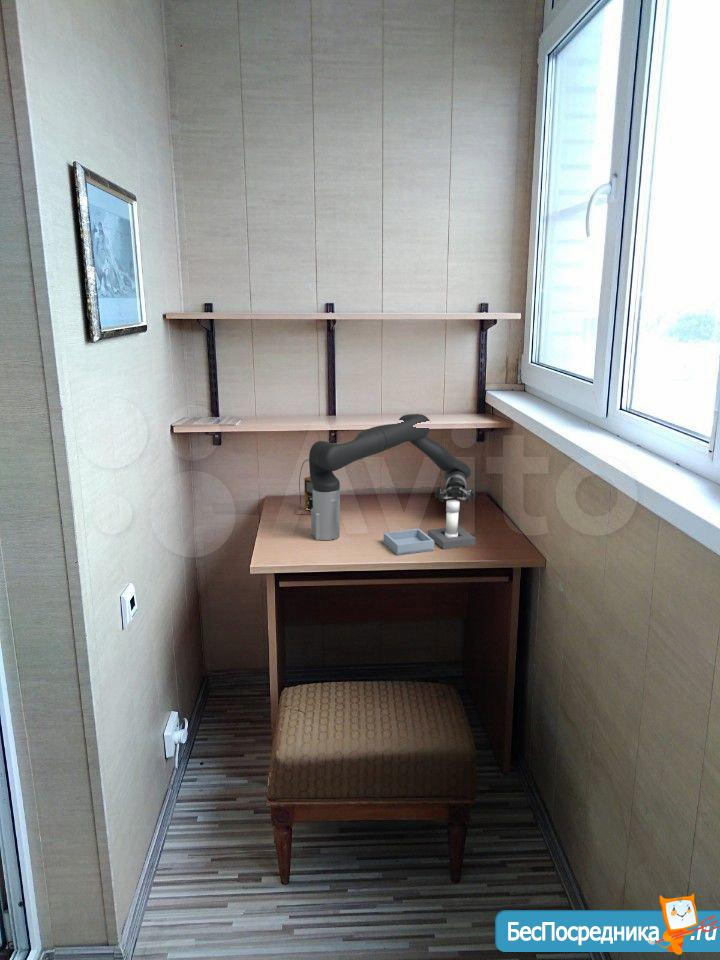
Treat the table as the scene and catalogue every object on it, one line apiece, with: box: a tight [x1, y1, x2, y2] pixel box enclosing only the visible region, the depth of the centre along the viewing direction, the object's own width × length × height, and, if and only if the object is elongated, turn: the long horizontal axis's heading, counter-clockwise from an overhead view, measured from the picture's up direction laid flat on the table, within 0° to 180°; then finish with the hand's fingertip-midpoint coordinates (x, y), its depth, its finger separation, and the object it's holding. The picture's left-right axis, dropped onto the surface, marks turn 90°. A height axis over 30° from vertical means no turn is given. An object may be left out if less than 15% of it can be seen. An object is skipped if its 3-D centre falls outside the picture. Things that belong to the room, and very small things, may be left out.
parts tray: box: [383, 528, 435, 556], centre depth 225 cm, size 13×12×4 cm
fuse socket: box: [427, 525, 476, 550], centre depth 230 cm, size 12×12×2 cm
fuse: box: [445, 499, 461, 538], centre depth 229 cm, size 4×4×14 cm
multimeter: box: [298, 459, 313, 510], centre depth 254 cm, size 15×10×20 cm
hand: (454, 500), depth 238 cm, fingers open, 8 cm apart
